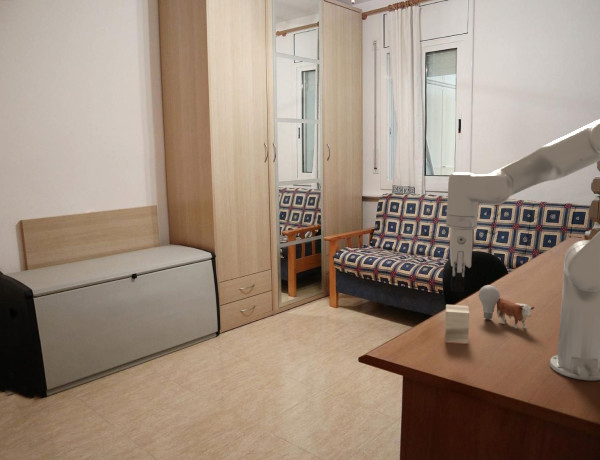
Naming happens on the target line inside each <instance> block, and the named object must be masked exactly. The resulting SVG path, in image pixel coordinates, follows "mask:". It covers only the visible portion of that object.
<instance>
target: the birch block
mask: <svg viewBox="0 0 600 460" xmlns="http://www.w3.org/2000/svg"><path fill="white" fill-rule="evenodd" d="M444 323H445V325H444V343H445V344H446V343H449V344H457V345H458V344H459V345H469V328H470V327H469V326H470V308H469V305H458V304H456V305H455V304H446V305H445V322H444Z"/></svg>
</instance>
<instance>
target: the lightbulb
mask: <svg viewBox="0 0 600 460" xmlns="http://www.w3.org/2000/svg"><path fill="white" fill-rule="evenodd" d="M500 296H501V294H500V291H499V289H498V288H497V287H496V286H494V285H491V284H487V285H484V286H482V287H480V289H479V292H478V299H479V301H480V302H481V305H482V311H483V318H484V319H485V320H486V321H490V320H491V319H493V317H494V315H493V314H494V311H495V307H496V306H497V302H498V300H499V299H500V298H501V297H500Z"/></svg>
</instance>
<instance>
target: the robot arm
mask: <svg viewBox="0 0 600 460" xmlns="http://www.w3.org/2000/svg"><path fill="white" fill-rule="evenodd" d="M598 162H600V118H599V119H598V120H597V119H596V120H595V121H593V122H591V123H589V124H586V125H585V126H583V127H581V128H577V129H576V130H574V131H572V132H569V133H568V134H566V135H564V136H561V137H560V138H557V139H555V140H553V141H551V142H549V143H547V144H544V145H543V146H541V147H539V148H538V149H536V150H535V151H533V152H532V153H530V154H527V155H525V156H523V157H521V158H520V159H518V160H515V161H514V162H511V163H508V164H507V165H505V166H503V167H500V168H499V169H496V170H494V171H492V172H490V173H487V174H478V173H474V172H470V171H469V172H468V171H464V172H463V171H460V172H459V171H456V172H453V173H451V174H450V175H449V177H448V183H447V202H446V215H445V216H446V217H445V218H446V220H445V222H446V223H445V227H446V228H449V229H450V233H449V236H450V237H449V258H450V266H451V267H452V274H451V277H450V278H451V279H450V280H451V281H450V291H451V292H459V293H462V292H463V293H464V292H465V280H466V279H465V278H466V277H465V271H466V267H467V268H468V269H470V268H471V267H472V254H473V230H475V229H478V216H479V203H482V204H487V205H493V206H495V205H498V206H499V205H501V204H503V203H505V202H507V201H508V200H509V199H510V197H512V196H513V195H514V196H515V194H518V193H520V192H522V191H525V190H526V189H529V188H531V187H533V186H536V185H538V184H542V183H545V182H549V181H556V180H559V179H562V178H565V177H567V176H569V175H571V174H574V173H575V172H579V171H580V170H582V169H585V168H587V167H589V166H592V165H594V164H597V163H598ZM465 266H466V267H465ZM562 271H563V275H562V291H561V292H562V293H561V305H560V316H559V317H560V318H559V320H560V321H559V329H558V344H557V353H556V355H554V356H551V358H550V359H549V366H550V368H552V370H554V371H555V372H557V373H559V374H560V375H562V376H565V377H568V378H572V379H576V380H581V381H600V230H599V231H598V232H597V233H596V234H595V235H594V236H592V238H591V239H583V240H579V241H576V242H575V243H573V244H572V245H570V246H569V247H568V248H567V250H566V251H565V254H564V257H563V270H562Z"/></svg>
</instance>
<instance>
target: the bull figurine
mask: <svg viewBox="0 0 600 460" xmlns="http://www.w3.org/2000/svg"><path fill="white" fill-rule="evenodd" d="M534 309H535V306H531V305H529V304H525V303H517V302H513V301H510V300H508V299H504V298H501V297H500V298H499V300H498V302H497V303H496V314H497V317H498V319H500V323H501V324H502V325H506V324H507V323H506V321H507V318H506V316H507V317H509V319H512V318H514V325H513V328H514V329H515V330H517V329H518V323H519V322H521V323H522V328H523V329H524V330H527V329H528V327H527V326H526V320H527V318H530V317H532V316H531V310H534Z"/></svg>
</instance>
